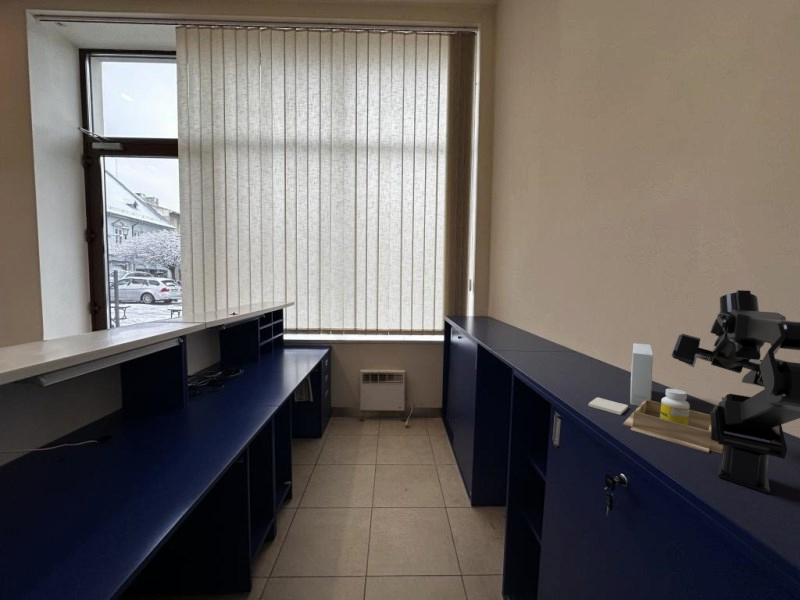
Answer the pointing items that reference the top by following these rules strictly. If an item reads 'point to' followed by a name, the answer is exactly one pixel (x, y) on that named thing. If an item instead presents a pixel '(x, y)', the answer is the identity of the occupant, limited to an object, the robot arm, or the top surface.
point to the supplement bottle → (675, 406)
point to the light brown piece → (674, 427)
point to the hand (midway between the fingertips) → (717, 372)
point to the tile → (608, 405)
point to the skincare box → (641, 373)
